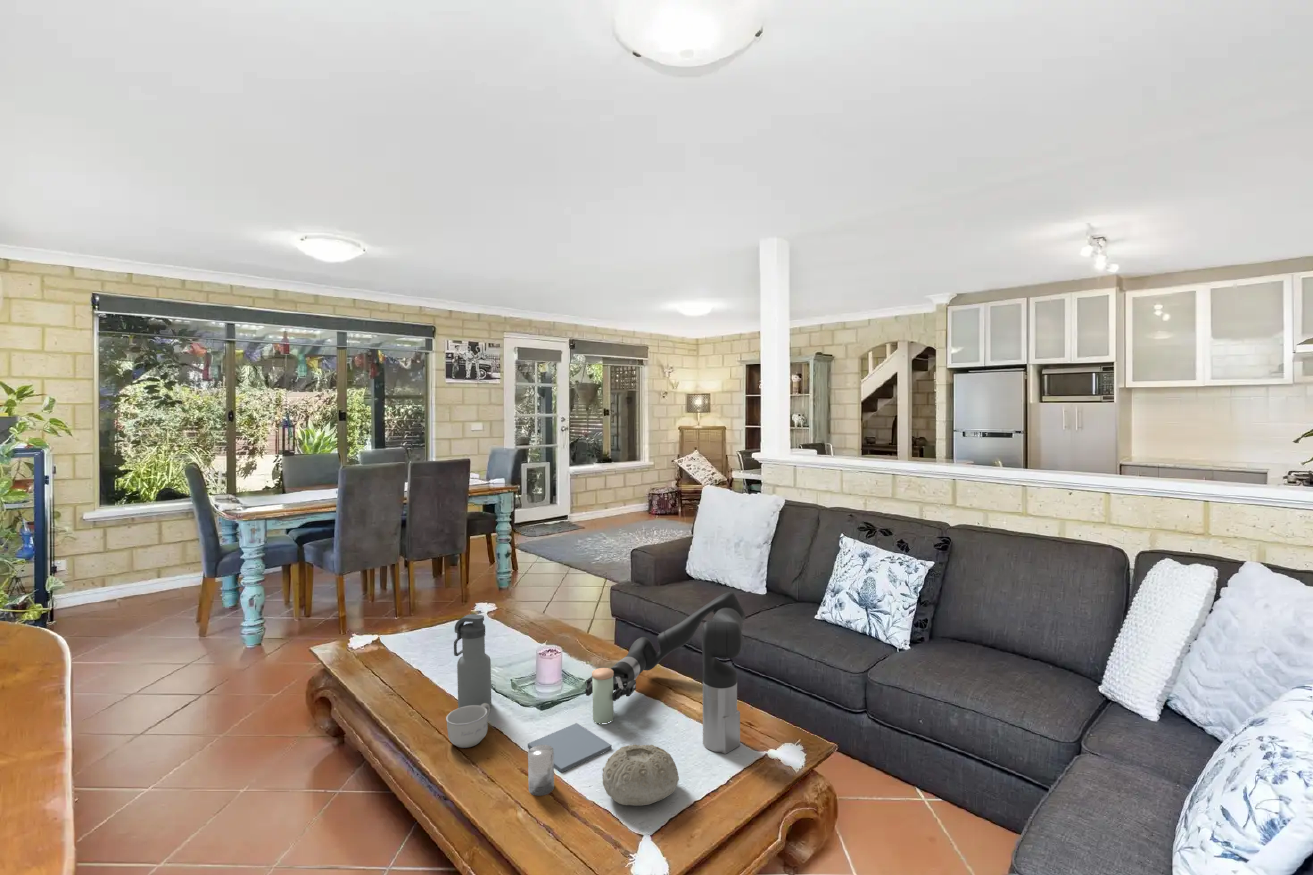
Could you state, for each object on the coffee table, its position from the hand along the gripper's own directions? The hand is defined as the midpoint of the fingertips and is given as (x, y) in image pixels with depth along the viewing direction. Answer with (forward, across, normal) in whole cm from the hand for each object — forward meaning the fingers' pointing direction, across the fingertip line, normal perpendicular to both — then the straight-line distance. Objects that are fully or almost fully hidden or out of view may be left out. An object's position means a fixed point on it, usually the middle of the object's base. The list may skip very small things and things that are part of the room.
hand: (600, 695), depth 181 cm
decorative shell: (+26, -24, -8) cm, 37 cm away
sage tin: (-2, 0, -8) cm, 8 cm away
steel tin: (+33, -1, -8) cm, 34 cm away
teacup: (+21, +28, -8) cm, 37 cm away
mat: (+15, +1, -8) cm, 17 cm away
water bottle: (+6, +40, -8) cm, 41 cm away
